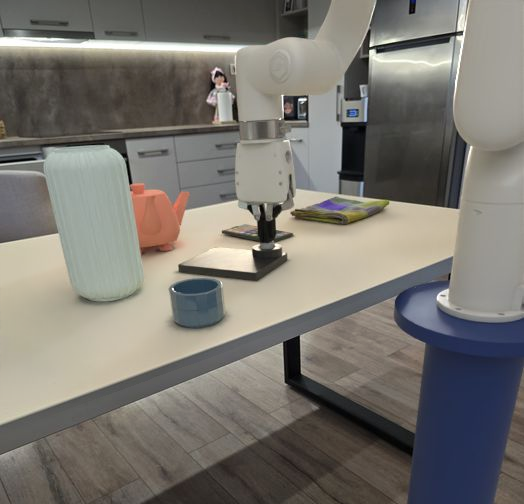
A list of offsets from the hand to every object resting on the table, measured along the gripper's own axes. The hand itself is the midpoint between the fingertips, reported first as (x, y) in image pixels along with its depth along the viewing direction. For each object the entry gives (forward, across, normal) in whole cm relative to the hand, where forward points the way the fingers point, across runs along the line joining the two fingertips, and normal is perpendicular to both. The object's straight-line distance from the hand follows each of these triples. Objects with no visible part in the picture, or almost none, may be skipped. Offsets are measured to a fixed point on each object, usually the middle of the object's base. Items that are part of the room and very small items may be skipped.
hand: (267, 241), depth 89 cm
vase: (+4, +17, +24) cm, 30 cm away
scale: (+4, +5, +4) cm, 8 cm away
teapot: (+4, +29, -2) cm, 30 cm away
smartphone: (+4, +12, -19) cm, 23 cm away
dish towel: (+4, +1, -47) cm, 47 cm away
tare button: (+1, 0, 0) cm, 1 cm away
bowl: (+4, -3, +28) cm, 28 cm away
